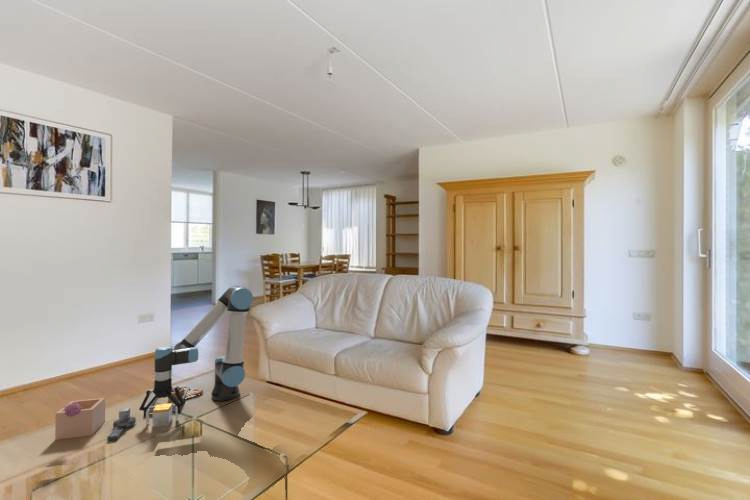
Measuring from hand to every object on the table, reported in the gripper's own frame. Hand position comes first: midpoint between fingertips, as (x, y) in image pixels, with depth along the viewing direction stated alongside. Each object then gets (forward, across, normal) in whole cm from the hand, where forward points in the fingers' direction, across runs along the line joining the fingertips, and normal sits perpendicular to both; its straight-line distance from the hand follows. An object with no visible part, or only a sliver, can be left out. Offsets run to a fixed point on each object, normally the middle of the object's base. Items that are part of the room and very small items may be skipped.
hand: (162, 421), depth 176 cm
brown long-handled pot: (+1, -6, -28) cm, 29 cm away
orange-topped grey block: (+1, 0, 0) cm, 1 cm away
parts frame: (+1, +3, -25) cm, 25 cm away
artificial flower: (-5, +36, -8) cm, 38 cm away
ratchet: (+1, +17, -2) cm, 17 cm away
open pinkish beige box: (+1, +35, -3) cm, 35 cm away
